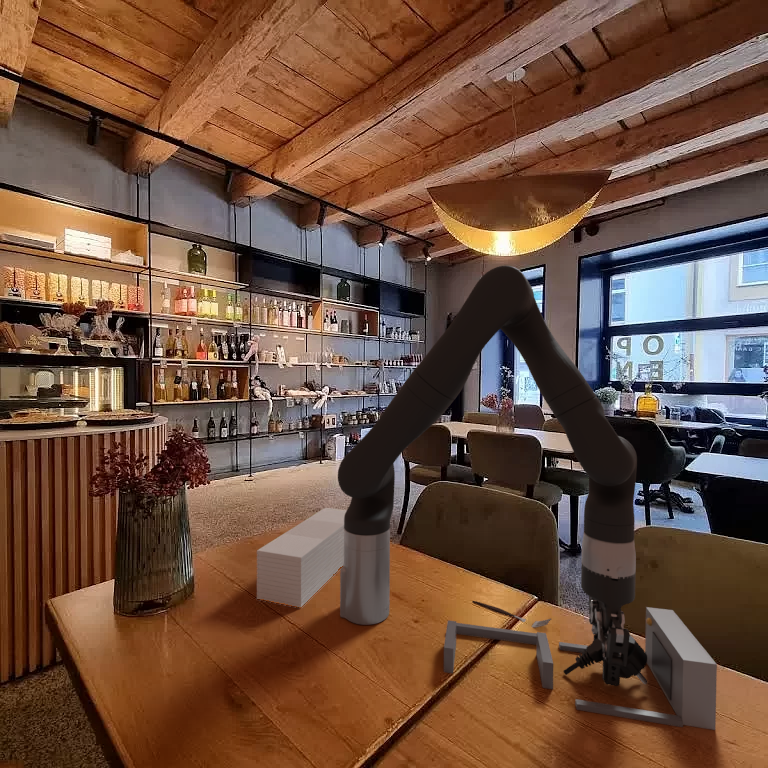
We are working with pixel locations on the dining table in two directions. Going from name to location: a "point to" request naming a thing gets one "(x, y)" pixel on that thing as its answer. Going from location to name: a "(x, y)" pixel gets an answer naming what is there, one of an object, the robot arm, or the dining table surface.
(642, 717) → the socket block
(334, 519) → the stack of papers
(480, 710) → the dining table surface
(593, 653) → the power plug
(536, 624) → the fork
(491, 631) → the plug holster
